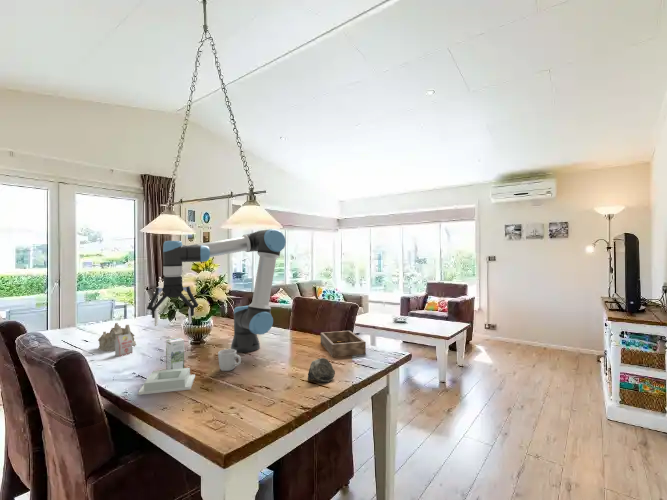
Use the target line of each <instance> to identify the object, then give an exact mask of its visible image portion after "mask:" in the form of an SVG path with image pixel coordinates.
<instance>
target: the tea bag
mask: <svg viewBox="0 0 667 500" xmlns="http://www.w3.org/2000/svg"><path fill="white" fill-rule="evenodd" d="M130 353H131V354H133V353H134V351H133V347H132V338H131V334H126V335H121V336H117V339H116V343H115V351H114V355H115V356H116V357H123V356H127V355H130ZM126 354H127V355H126ZM122 355H123V356H122Z"/></svg>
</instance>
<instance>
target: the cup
mask: <svg viewBox="0 0 667 500" xmlns="http://www.w3.org/2000/svg"><path fill="white" fill-rule="evenodd" d="M237 353H238V352H237V351H236V350H234V349H231V348H226V349H221V350H219V351H217V358H218V365H219V369H220V371H222V372H229V371H233V370H234V369H235V368H236V366H240V365H241V362H242V358H241V356H240V355H239V354H237ZM237 359H238V362H237Z"/></svg>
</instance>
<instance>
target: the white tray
mask: <svg viewBox="0 0 667 500" xmlns="http://www.w3.org/2000/svg"><path fill="white" fill-rule="evenodd" d="M195 378H196V374H191V367H184V368H181V369H170V370H166V369H161V370H153V371H152V372H151V374H149V376H148V377H147V379H146V380H145V381H144V383H143V385H142V386H141V387H140V389H139V390H138V392H137V396H140V395H142V396H143V395H150V394H160V393H168V392H179V391H188V390H192V386H193V385H194V381H195Z"/></svg>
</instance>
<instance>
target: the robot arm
mask: <svg viewBox="0 0 667 500" xmlns="http://www.w3.org/2000/svg"><path fill="white" fill-rule="evenodd" d="M286 243H287V242H286V237H285V235H284V234H283V232H282V231H280V230H279V229H275V228H274V229H273V228H270V229H264V230H258V231H254V232H251V233H248V234H243V235H242V236H241V237H234V238H228V239H222V240H221V239H220V240H215V241H208V242H203V243H202V242H201V243H198V244H197V243H196V244H191V245H188V244H187V245H186V244H185V245H184V244H183V241H181V240H165V241H164V242H163V248H162V249H163V250H162V257H163V261H162V263H163V265H162V266H163V267H162V269H163V270H162V271H163V272H162V273H163V274H162V275H163V276H164V277H163V287H159V286H158V287H156V288H155V289H154V294H153V295H152V298H151V300H150V301H149V304H148V305H147V306H146V309H147V310H148V311H149V310H150V311H151V318H152V319H154V327H158V326H159V310H158V308H159V306H160V305H161V304H162V303H163V302H164V301H165V300H166V299H167V298H169V299H171V298H178V297H179V298H180V299H181V300H182V301H183V303H185V305H186V306H188V325H191V324H192V317H194V315H195V308H198V307H199V303H198V302H197V300H196V298H195V296H194V295H193V293H192V291H191V286H190V285H188V286H183V263H197V262H198V263H200V262H201V263H202V262H203V263H204V262H208V261H209V260H210V258H213V257H218V256H223V255H224V256H225V255H228V254H234V253H240V252H245V253H251V252H256V253H257V255H258V256H259V259H258V264H257V272H256V278H255V284H254V288H253V294H252V301H251V303H250V304H248V305H244V306H243V305H242V306H236V307H235V308H234V309H233V330H234V331H233V338H232V341H231V344H230V349H234V350H236V351H237V353H248V352H254V351H257V350H259V349H260V347H261V345H260V344H261V343H260V341H259V337H258V335H260V336H261V335H264V334H267V333H268V332H269V331H270V330H271V329H272V327H273V324H274V318H273V316H272V313H271V311H272V307H271V306H270V300H271V293H272V286H273V280H274V275H275V273H274V272H275V270H276V269H275V268H276V262H277V259H279V258H280V255H281V251H282V250H284V249H285V247H286ZM183 291H185V292H186V293H187V295H188V297H189V299H190V300H189V299H188V298H187V297H186V296H185V295H184V294H183ZM161 292H163V295H162V296H161V298H160V299H159V300H158V301H157V303H155V302H156V300H157V298H158V296H159V294H160V293H161ZM154 304H155V305H154ZM153 305H154V306H153Z"/></svg>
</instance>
